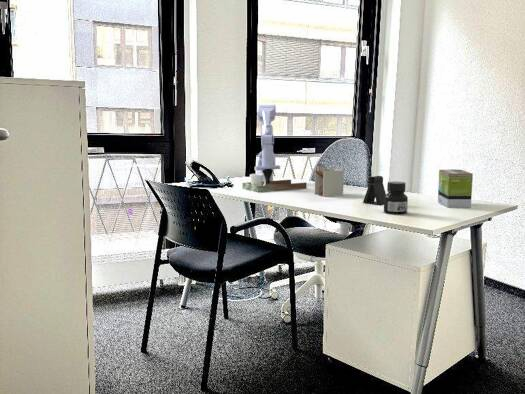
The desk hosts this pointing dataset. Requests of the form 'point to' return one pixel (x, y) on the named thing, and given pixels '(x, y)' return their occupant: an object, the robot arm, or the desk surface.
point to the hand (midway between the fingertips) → (267, 183)
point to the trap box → (274, 186)
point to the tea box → (455, 188)
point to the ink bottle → (395, 198)
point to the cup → (257, 179)
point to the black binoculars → (375, 191)
